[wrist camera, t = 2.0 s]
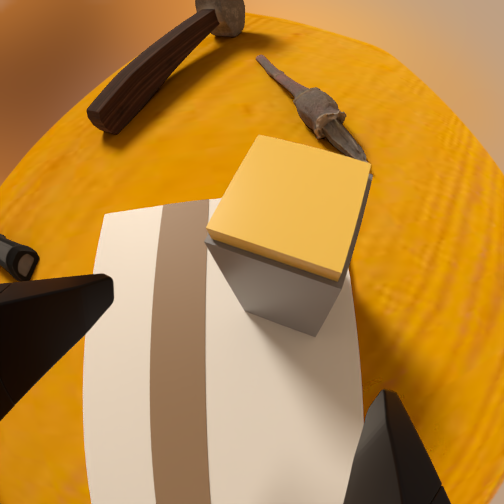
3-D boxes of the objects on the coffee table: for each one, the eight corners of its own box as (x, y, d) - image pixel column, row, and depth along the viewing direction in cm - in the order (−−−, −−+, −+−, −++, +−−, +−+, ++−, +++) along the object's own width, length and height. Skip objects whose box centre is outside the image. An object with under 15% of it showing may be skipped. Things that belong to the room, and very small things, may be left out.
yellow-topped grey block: (315, 337, 18) (345, 280, 9) (244, 310, 20) (197, 231, 10) (339, 269, 20) (376, 161, 10) (272, 246, 22) (255, 130, 12)
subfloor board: (358, 534, 12) (360, 539, 12) (99, 514, 14) (93, 517, 13) (332, 194, 24) (333, 188, 23) (108, 218, 26) (104, 213, 25)
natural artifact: (349, 183, 26) (331, 168, 23) (258, 63, 35) (239, 48, 32) (382, 158, 24) (368, 139, 21) (278, 45, 33) (260, 29, 30)
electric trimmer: (-9, 228, 29) (-23, 217, 26) (43, 255, 26) (24, 241, 23) (-20, 252, 28) (-35, 242, 25) (29, 287, 24) (8, 276, 21)
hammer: (133, 156, 34) (250, 27, 40) (84, 98, 24) (236, -26, 29) (111, 148, 36) (226, 25, 41) (64, 96, 25) (210, -25, 31)
